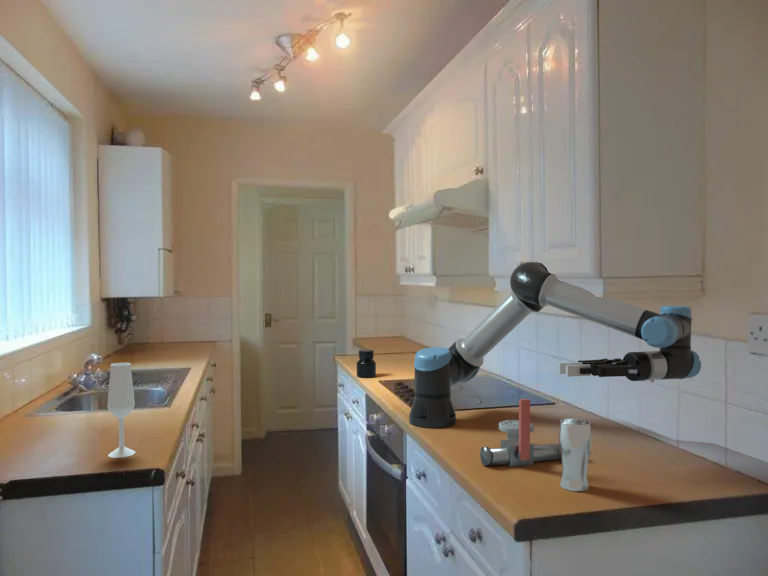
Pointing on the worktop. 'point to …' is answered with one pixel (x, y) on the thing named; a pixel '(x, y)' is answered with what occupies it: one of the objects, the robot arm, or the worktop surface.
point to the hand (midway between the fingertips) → (563, 369)
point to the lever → (524, 430)
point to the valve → (509, 453)
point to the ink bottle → (366, 364)
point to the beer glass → (574, 452)
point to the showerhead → (512, 428)
